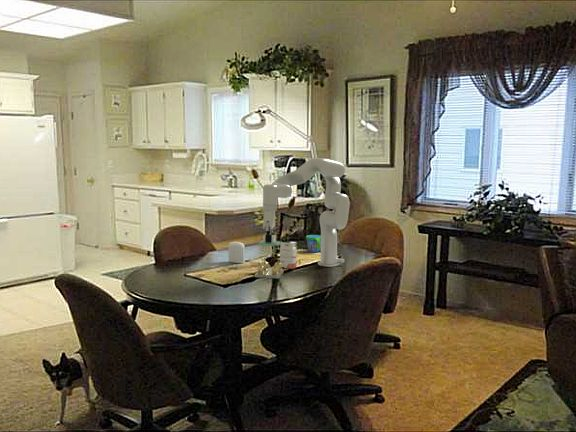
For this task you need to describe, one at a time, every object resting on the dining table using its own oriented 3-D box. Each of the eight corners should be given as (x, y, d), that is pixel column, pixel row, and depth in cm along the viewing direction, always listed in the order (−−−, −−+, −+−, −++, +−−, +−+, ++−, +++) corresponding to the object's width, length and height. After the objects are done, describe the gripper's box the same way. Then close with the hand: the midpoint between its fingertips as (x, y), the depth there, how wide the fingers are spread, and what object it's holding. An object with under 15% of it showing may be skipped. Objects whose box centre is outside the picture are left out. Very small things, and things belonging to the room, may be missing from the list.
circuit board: (262, 241, 308) (262, 233, 307) (280, 242, 306) (280, 234, 306) (257, 245, 296) (257, 236, 296) (276, 246, 294) (276, 237, 294)
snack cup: (302, 249, 373) (303, 234, 371) (318, 248, 375) (318, 233, 374) (309, 254, 358) (309, 238, 356) (325, 253, 360) (325, 237, 359)
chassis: (260, 270, 312) (260, 258, 311) (283, 272, 310) (283, 259, 309) (255, 277, 298) (255, 264, 297) (279, 278, 296) (279, 265, 295)
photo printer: (227, 262, 333) (227, 241, 331) (231, 260, 337) (231, 240, 335) (241, 264, 328) (241, 243, 326) (245, 262, 332) (245, 242, 330)
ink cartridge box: (296, 267, 321) (297, 242, 319) (292, 269, 317) (293, 243, 315) (283, 265, 325) (283, 240, 323) (279, 267, 321) (279, 242, 319)
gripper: (266, 205, 307) (265, 238, 310) (259, 209, 291) (259, 243, 293) (279, 206, 306) (279, 239, 309) (273, 209, 290) (273, 244, 292)
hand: (269, 241), depth 301 cm, fingers closed on circuit board, 4 cm apart
